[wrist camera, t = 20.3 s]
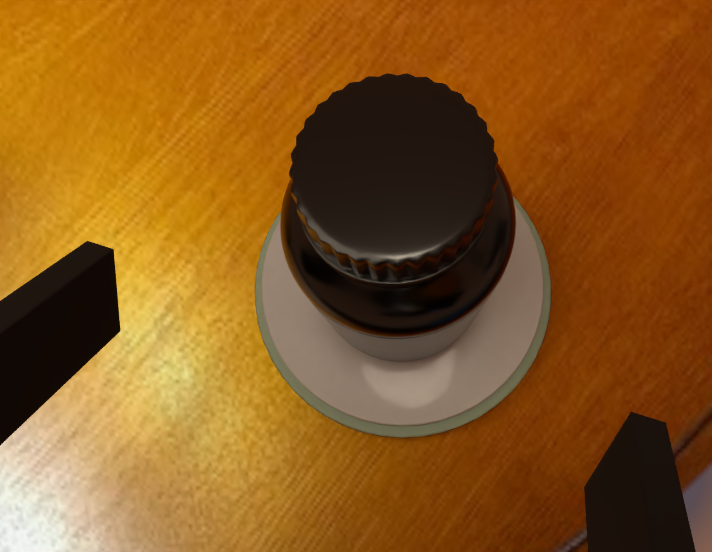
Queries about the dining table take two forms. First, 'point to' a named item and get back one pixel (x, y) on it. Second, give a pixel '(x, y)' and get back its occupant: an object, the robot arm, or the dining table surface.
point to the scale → (414, 378)
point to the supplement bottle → (397, 215)
